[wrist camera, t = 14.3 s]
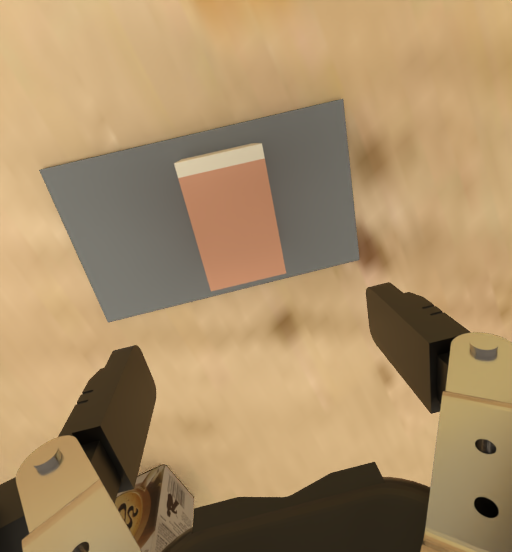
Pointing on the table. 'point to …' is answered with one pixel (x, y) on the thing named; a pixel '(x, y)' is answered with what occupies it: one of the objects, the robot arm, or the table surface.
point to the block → (232, 215)
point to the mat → (175, 219)
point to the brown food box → (156, 509)
